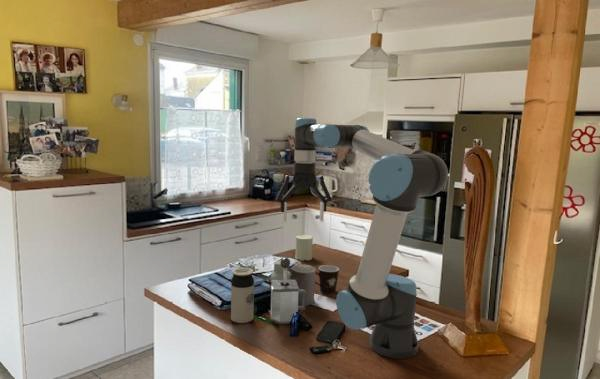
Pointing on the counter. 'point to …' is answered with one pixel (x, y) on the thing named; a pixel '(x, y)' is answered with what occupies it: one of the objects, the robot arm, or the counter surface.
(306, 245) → the can
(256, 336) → the counter surface
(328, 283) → the coffee mug
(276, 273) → the air freshener
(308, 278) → the grey cylinder
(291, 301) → the carafe
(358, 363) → the counter surface
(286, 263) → the plunger
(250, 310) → the travel mug
